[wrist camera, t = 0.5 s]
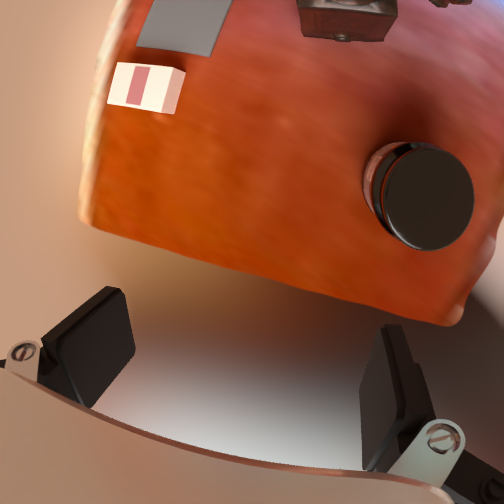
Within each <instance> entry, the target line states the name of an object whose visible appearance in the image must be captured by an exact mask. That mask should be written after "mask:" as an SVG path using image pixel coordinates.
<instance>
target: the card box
mask: <svg viewBox="0 0 504 504" xmlns="http://www.w3.org/2000/svg"><path fill="white" fill-rule="evenodd" d="M185 74H186V73H185V72H183V71H181V70H178V69H176V68H174V67H166V66H157V65H147V64H135V63H120V62H118V63H117V67H116V70H115V74H114V77H113V81H112V85H111V89H110V93H109V97H108V101H107V103H108V104H114V105H121V106H127V107H133V108H139V109H145V110H150V111H155V112H160V113H169V114H174V112H175V109H176V105H177V101H178V98H179V94H180V91H181V87H182V84H183V80H184V77H185Z"/></svg>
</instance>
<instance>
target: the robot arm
mask: <svg viewBox="0 0 504 504" xmlns="http://www.w3.org/2000/svg"><path fill="white" fill-rule="evenodd" d="M41 341H42V343H43V347H42V348H40V346H39V344H38V343H37V342H35V341H31V340H30V341H28V340H27V341H22V342H19V343H17V344H15V345H14V346H13V347H12V348H11V349H10V350H9V352H8V355H7V359H4V360H0V504H504V474H503V473H501V472H500V471H498V470H496V469H495V468H493V467H492V466H490V465H488V464H486V463H485V462H483V461H482V460H480V459H478V458H477V457H475V456H474V455H472V454H471V453H469V452H467V451H466V450H464V445H465V436H464V433H463V431H462V430H461V429H460V427H459V426H458V425H456V424H455V423H453V422H451V421H448V420H443V419H438V420H436V416H435V413H434V409H433V405H432V402H431V398H430V395H429V392H428V388H427V386H426V382H425V379H424V376H423V373H422V369H421V367H420V365H419V364H418V363H414V362H413V358H412V356H411V352H410V349H409V346H408V344H407V340H406V337H405V335H404V332H403V329H402V326H401V325H397V324H384V326H383V328H378V330H377V333H376V337H375V340H374V343H373V347H372V350H371V353H370V357H369V360H368V363H367V366H366V369H365V372H364V375H363V378H362V381H361V384H360V389H359V395H360V396H359V398H360V413H361V434H362V468H363V470H367V471H354V470H341V469H325V468H314V467H304V466H295V465H289V464H281V463H274V462H267V461H261V460H255V459H249V458H244V457H239V456H234V455H229V454H225V453H220V452H216V451H212V450H208V449H204V448H200V447H196V446H193V445H189V444H185V443H181V442H178V441H175V440H171V439H168V438H165V437H162V436H159V435H156V434H153V433H150V432H147V431H144V430H142V429H139V428H136V427H133V426H131V425H128V424H125V423H123V422H120V421H118V420H115V419H113V418H110V417H108V416H105V415H103V414H101V413H98V412H96V411H94V410H92V409H90V408H91V407H93V405H94V404H95V403H96V401H97V400H98V399H99V398H100V396H101V395H102V394H103V393H104V391H105V390H106V389H107V388H108V386H109V385H110V384H111V383H112V382H113V380H114V379H115V378H116V377H117V375H118V374H119V373H120V372H121V370H122V369H123V368H124V367H125V366H126V364H127V363H128V362H129V361H130V359H131V358H132V357H133V356H134V354H135V349H136V348H135V343H134V339H133V334H132V329H131V324H130V319H129V314H128V309H127V304H126V298H125V295H124V293H122V291H121V289H119V288H115V287H110V286H106V287H104V288H103V289H102V290H100V291H99V292H98V293H96V294H95V295H94V296H93V297H91V298H90V299H89V300H88V301H86V302H85V303H84V304H82V305H81V306H80V307H79V308H77V309H76V310H75V311H74V312H72V313H71V314H70V315H69V316H67V317H66V318H65V319H64V320H62V321H61V322H60V323H59V324H58V325H56V326H55V327H54V328H53V329H51V330H50V331H49V332H48V333H47V334H45V335H44V336H43V337H42V338H41Z"/></svg>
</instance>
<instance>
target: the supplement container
mask: <svg viewBox="0 0 504 504" xmlns="http://www.w3.org/2000/svg"><path fill="white" fill-rule="evenodd" d="M361 183H362V192H363V196H364V199H365V201H366V203H367V205H368V207H369V208H370V210H371V211H372V212H373V213H374V214H375V216H376V218H377V220H378V222H379V223H380V225H381V226H382V227H383V228H384V230H385V231H386V232H387V233H388V234H390V235H391V236H392V237H394V238H395V239H397V240H399V241H401V242H402V243H404V244H405V245H407V246H409V247H411V248H413V249H416V250H420V251H436V250H440V249H443V248H445V247H447V246H449V245H451V244H452V243H454V242H455V241H456V240H457V239H458V238H459V237H460V236H461V235H462V234H463V233H464V231H465V230H466V228H467V227H468V225H469V223H470V220H471V218H472V215H473V211H474V203H475V194H474V187H473V183H472V180H471V177H470V175H469V173H468V171H467V169H466V168H465V166H464V165H463V164H462V163H461V161H460V160H459V159H458V158H456V157H455V156H454V155H452V154H451V153H449V152H447V151H445V150H443V149H442V148H440V147H438V146H436V145H434V144H431V143H428V142H423V141H410V142H406V141H395V142H390V143H387V144H385V145H383V146H381V147H379V148H378V149H377V150H375V151H374V152H373V153H372V155H371V156H370V157H369V159H368V160H367V162H366V164H365V166H364V169H363V173H362V181H361Z"/></svg>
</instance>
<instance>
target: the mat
mask: <svg viewBox="0 0 504 504" xmlns="http://www.w3.org/2000/svg"><path fill="white" fill-rule="evenodd" d="M232 2H233V0H154V2H153V4H152V7H151V9H150V11H149V14H148V16H147V18H146V21H145V23H144V26H143V28H142V31H141V33H140V36H139V39H138V41H137V44H136V46H137V47H147V48H155V49H163V50H171V51H178V52H184V53H190V54H196V55H201V56H206V57H210V56H211V53H212V51H213V48H214V46H215V43H216V40H217V38H218V35H219V33H220V30H221V28H222V25H223V23H224V21H225V18H226V16H227V13H228V11H229V9H230V6H231V4H232Z"/></svg>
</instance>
